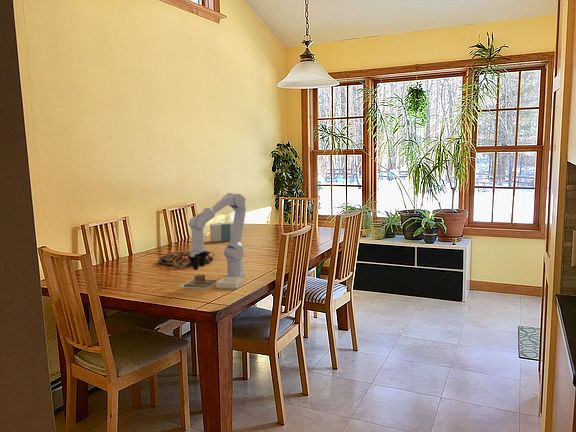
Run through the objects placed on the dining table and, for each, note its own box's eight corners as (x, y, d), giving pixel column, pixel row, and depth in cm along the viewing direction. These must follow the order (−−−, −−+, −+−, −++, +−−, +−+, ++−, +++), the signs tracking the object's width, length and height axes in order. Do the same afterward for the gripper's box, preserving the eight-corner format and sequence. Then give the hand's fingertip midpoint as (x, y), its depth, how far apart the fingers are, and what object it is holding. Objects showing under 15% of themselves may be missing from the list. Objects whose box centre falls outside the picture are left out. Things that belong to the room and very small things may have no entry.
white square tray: (223, 282, 245) (223, 277, 245) (242, 283, 243) (242, 277, 242) (216, 288, 235) (216, 282, 235) (235, 289, 233) (235, 283, 233)
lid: (194, 280, 250) (193, 272, 249) (215, 281, 247) (215, 273, 246) (183, 286, 238) (183, 278, 238) (206, 287, 235) (206, 279, 235)
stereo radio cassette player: (212, 243, 353) (211, 215, 350) (209, 241, 361) (208, 214, 358) (239, 240, 361) (239, 214, 358) (236, 238, 369) (235, 212, 366)
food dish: (203, 271, 274) (202, 258, 272) (149, 270, 280) (147, 257, 279) (223, 256, 308) (222, 244, 306) (174, 255, 314) (173, 244, 313)
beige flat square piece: (191, 279, 251) (191, 279, 251) (218, 281, 248) (218, 280, 248) (179, 287, 238) (179, 286, 238) (207, 289, 234) (207, 288, 234)
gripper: (196, 238, 248) (197, 264, 250) (183, 243, 234) (185, 271, 236) (209, 238, 246) (210, 264, 248) (197, 244, 232) (198, 271, 234)
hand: (198, 267), depth 242 cm, fingers open, 7 cm apart
